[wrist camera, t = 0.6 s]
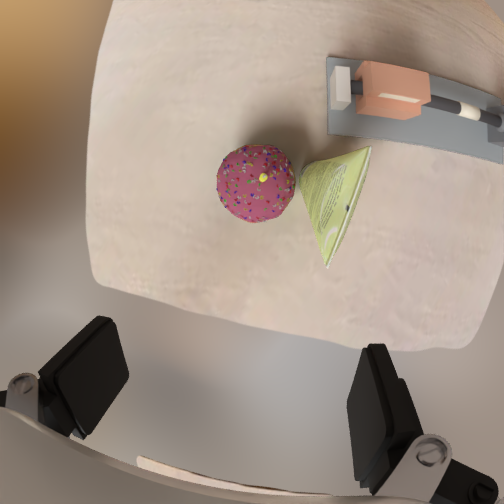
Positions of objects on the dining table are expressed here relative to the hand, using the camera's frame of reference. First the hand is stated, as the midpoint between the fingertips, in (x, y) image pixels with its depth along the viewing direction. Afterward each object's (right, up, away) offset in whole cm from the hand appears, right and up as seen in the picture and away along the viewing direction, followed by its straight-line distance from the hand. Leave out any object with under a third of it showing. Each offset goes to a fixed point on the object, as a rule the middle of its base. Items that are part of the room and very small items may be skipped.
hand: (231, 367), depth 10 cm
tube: (+9, +12, +24) cm, 28 cm away
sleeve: (+15, +22, +17) cm, 32 cm away
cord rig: (+23, +22, +19) cm, 37 cm away
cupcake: (+2, +13, +25) cm, 28 cm away
